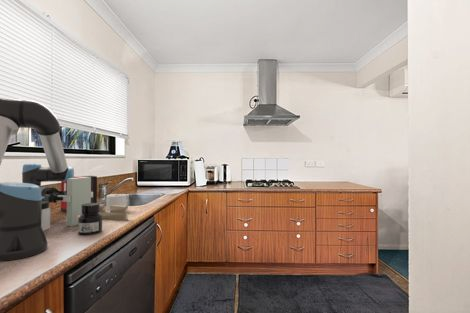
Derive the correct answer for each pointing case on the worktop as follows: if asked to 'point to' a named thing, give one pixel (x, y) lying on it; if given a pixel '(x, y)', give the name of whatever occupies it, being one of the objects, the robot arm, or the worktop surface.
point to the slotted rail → (114, 212)
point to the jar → (45, 215)
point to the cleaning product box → (93, 189)
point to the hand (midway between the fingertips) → (81, 196)
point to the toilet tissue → (115, 200)
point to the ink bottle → (90, 219)
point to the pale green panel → (77, 197)
